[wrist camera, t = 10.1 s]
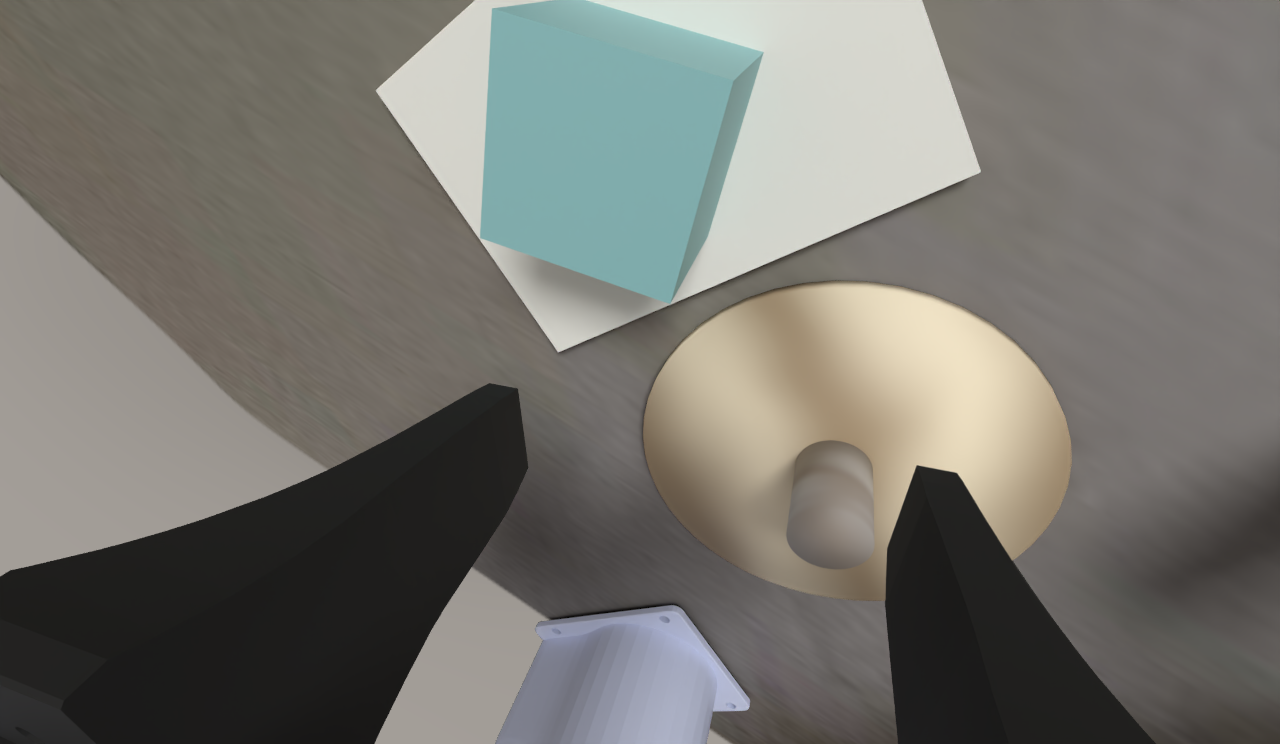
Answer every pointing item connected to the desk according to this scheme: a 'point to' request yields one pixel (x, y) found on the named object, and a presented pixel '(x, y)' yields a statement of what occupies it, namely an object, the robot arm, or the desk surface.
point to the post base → (847, 429)
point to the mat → (764, 152)
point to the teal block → (608, 139)
